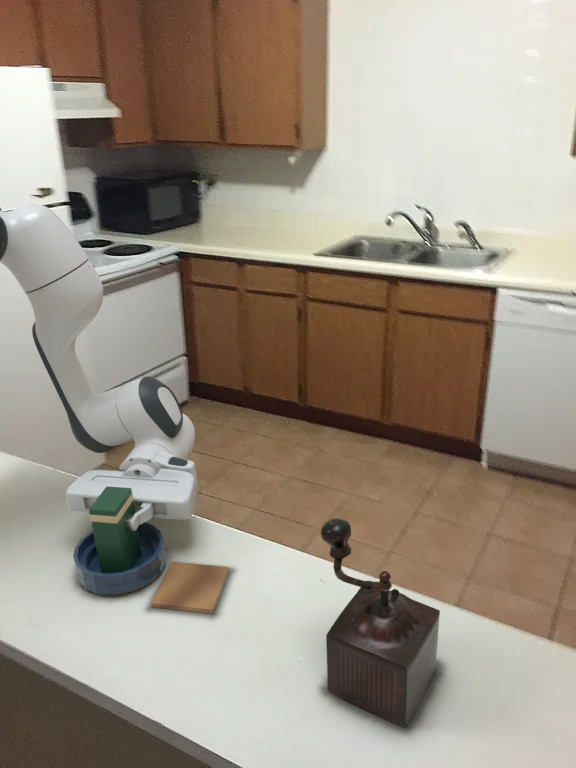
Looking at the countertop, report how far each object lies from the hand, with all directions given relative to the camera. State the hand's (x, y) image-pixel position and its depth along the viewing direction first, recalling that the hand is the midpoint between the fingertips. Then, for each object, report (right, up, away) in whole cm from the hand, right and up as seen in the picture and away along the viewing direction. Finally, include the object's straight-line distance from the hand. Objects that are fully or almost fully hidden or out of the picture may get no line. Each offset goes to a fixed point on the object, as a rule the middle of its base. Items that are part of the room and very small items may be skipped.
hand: (112, 525), depth 98 cm
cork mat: (+12, -9, 0) cm, 15 cm away
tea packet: (0, -7, +4) cm, 8 cm away
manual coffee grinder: (+35, -15, -15) cm, 41 cm away
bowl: (0, -7, +4) cm, 9 cm away
